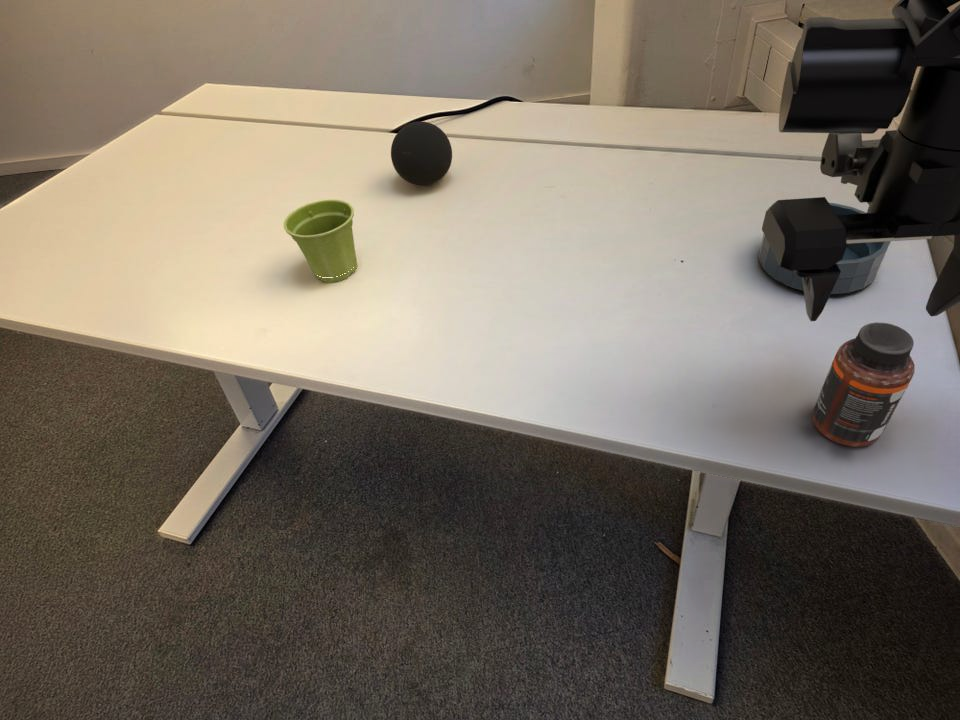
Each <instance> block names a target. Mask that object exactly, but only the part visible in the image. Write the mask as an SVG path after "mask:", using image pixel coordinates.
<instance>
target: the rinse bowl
mask: <svg viewBox="0 0 960 720" xmlns="http://www.w3.org/2000/svg"><path fill="white" fill-rule="evenodd" d="M829 204H830V205H831V207H832V208H833V210H834V211H835V213H836V214H837V215H848V214H864V213H867V211H864V210H861V209H858V208H855V207H854V206H849V205H844V204H839V203H835V202H829ZM891 242H892V241H886V242H869V243H851V244H847V247H846V250H845V253H844V256H843V259H842V260H840V261H839V262H837V263H836V264H837V265H838V267H839V269H840V270H841V274H840V276H839V278H838V280H837V282H836V284H835V286H834V288H833V290H832V292H831V295H839V294H840V295H841V294H849V293H853V292H856V291H859V290H863V289H865V288H867V286H869V285H870V284H872V283H873V282H874V281H875V279H876V278H877V275H878V273H879V271H880V269H881V267H882V264H883V261H884V260H885V257H886V254H887V252H888V250H889V248H890V246H891V245H890V244H891ZM759 246H760V247H759V251H758V261H759V263H760V265H761V267H762V270H763V271H765V273H766V274H768V275H769V276H770V277H771V278H772V279H773V280H775V281H777V282H779V283H781V284H783V285H785V286H787V287H789V288H792V289H795V290H800V291H802V292H804V288H803V281H802V277H799V276H797V275H796V274H795V273H794V271H790V270H787V269H785V268H782V267H780V266H779V264H778V262H777V260H776V258H775V255H774V253H773V251H772V249H771V247H770V245H769V243H768V241H767V239H766V237H765V235H764V233H763V235H762V239H761V243H760V245H759Z"/></svg>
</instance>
